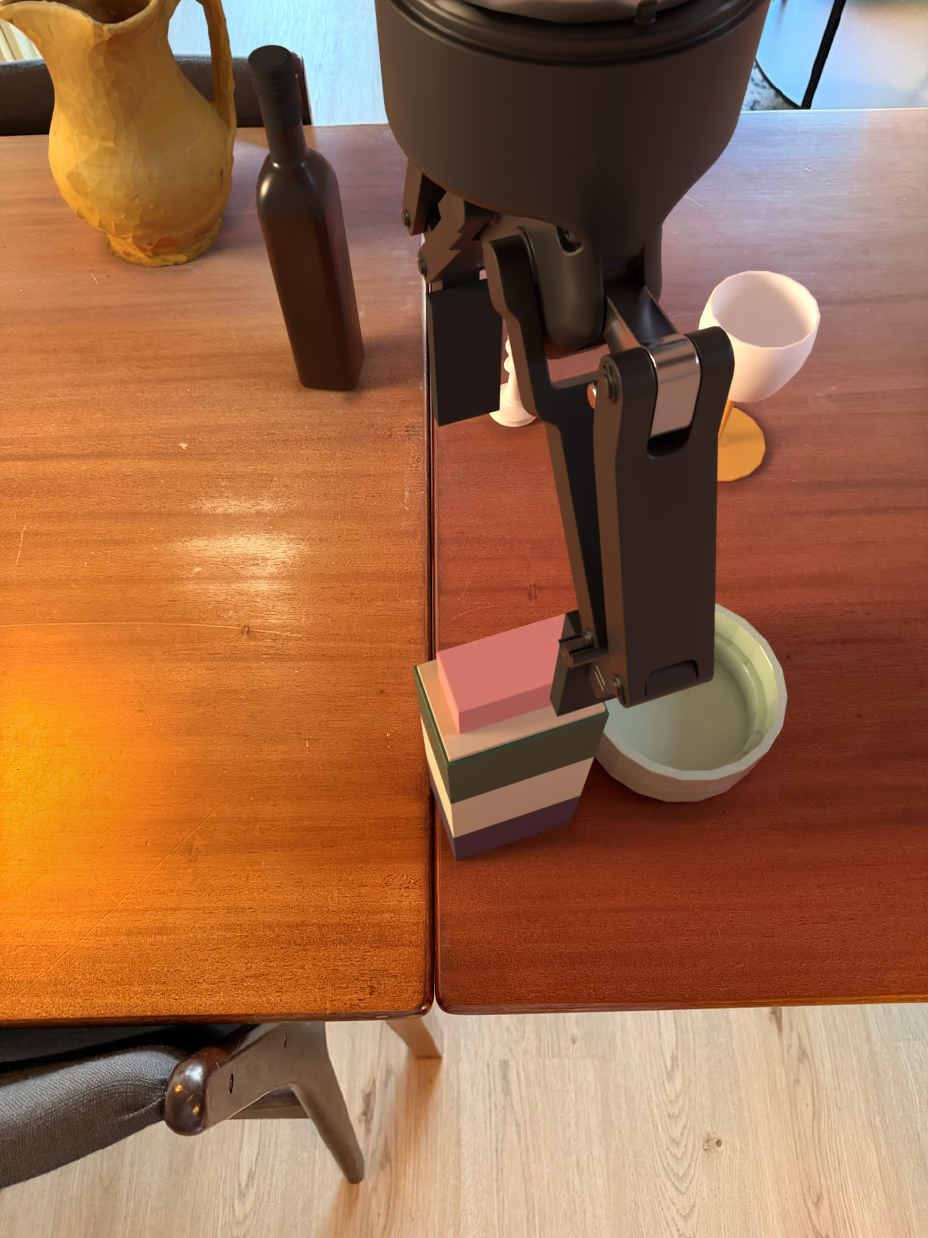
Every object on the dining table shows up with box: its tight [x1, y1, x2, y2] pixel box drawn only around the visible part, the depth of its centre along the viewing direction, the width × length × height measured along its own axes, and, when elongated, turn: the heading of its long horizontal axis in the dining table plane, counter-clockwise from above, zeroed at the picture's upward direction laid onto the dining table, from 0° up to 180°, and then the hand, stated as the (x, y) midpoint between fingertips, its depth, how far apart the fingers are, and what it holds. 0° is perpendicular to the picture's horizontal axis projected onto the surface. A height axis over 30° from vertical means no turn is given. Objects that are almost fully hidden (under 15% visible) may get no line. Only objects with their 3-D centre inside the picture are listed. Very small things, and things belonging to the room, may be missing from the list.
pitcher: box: [0, 0, 238, 268], centre depth 86 cm, size 17×19×25 cm
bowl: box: [594, 603, 788, 803], centre depth 68 cm, size 14×14×6 cm
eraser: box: [436, 613, 566, 734], centre depth 46 cm, size 7×4×3 cm, turn 108°
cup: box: [698, 270, 822, 482], centre depth 76 cm, size 9×9×16 cm
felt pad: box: [416, 658, 605, 762], centre depth 48 cm, size 6×9×1 cm, turn 109°
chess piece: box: [489, 336, 537, 428], centre depth 81 cm, size 5×5×10 cm
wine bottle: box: [247, 44, 366, 393], centre depth 74 cm, size 6×6×30 cm
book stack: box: [412, 658, 609, 862], centre depth 58 cm, size 6×9×22 cm, turn 108°
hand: (522, 542), depth 35 cm, fingers open, 13 cm apart
